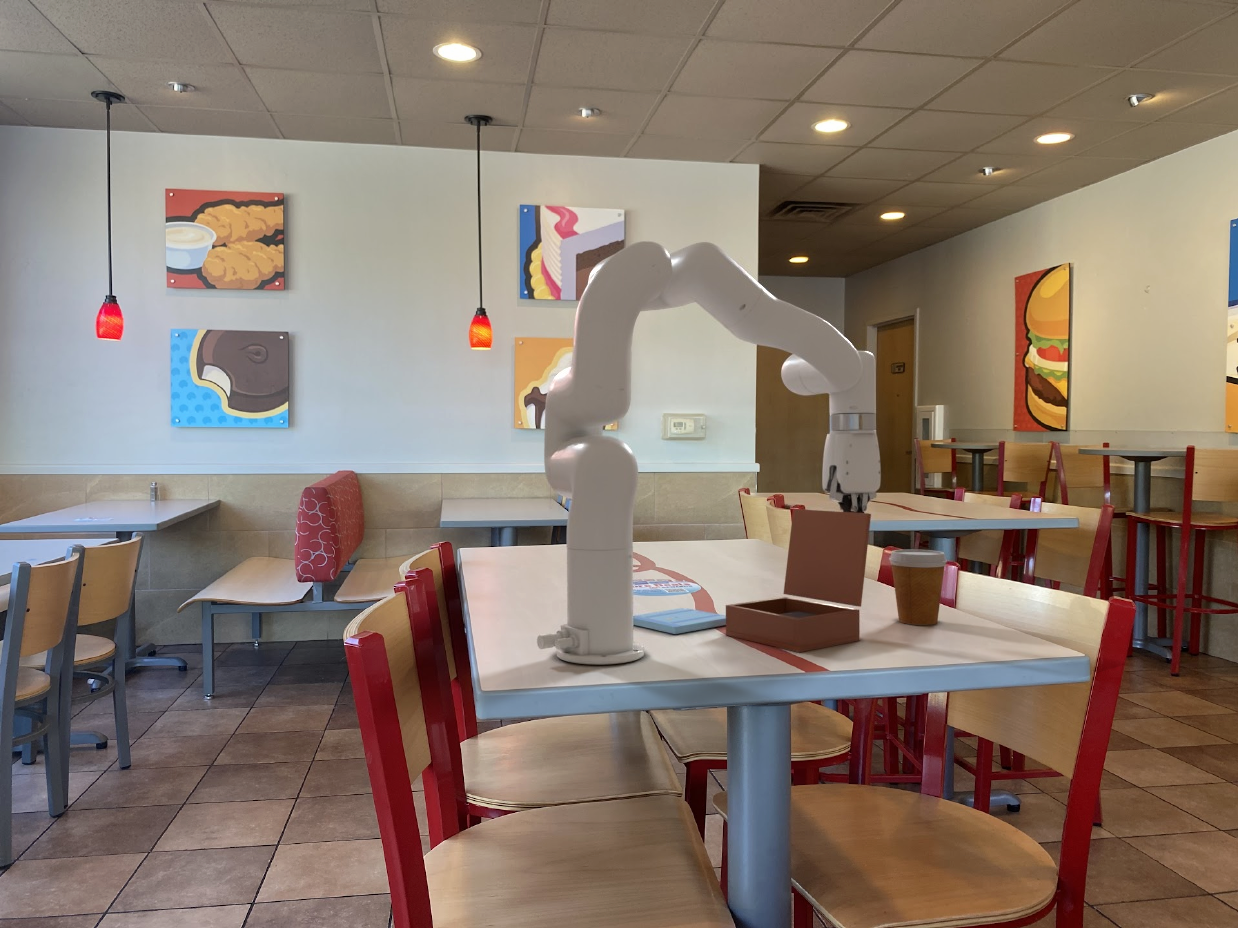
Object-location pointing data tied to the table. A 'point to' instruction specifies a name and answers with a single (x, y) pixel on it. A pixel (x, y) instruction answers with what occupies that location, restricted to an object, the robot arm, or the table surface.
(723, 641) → the table surface
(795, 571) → the cover
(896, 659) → the table surface
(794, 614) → the dark grey block
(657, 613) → the light blue flat block
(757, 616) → the flip case
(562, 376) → the robot arm
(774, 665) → the table surface
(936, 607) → the disposable coffee cup
